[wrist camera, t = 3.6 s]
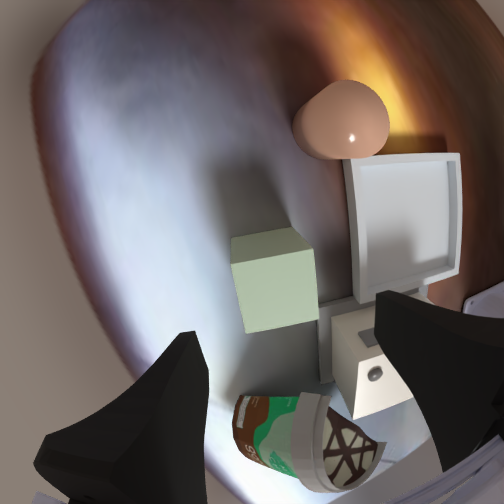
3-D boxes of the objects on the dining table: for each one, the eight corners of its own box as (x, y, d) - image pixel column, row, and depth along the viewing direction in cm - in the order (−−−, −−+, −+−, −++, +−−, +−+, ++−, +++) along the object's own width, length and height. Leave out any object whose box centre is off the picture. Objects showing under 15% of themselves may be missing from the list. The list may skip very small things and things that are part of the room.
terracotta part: (345, 99, 16) (381, 81, 11) (354, 156, 17) (394, 156, 12) (287, 102, 15) (307, 80, 11) (297, 163, 17) (323, 162, 12)
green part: (291, 226, 18) (313, 248, 13) (299, 282, 19) (319, 319, 14) (230, 237, 18) (230, 264, 13) (242, 293, 19) (245, 333, 14)
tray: (448, 152, 17) (459, 153, 15) (448, 268, 20) (458, 273, 19) (341, 157, 17) (350, 157, 15) (352, 295, 20) (360, 304, 18)
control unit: (424, 275, 20) (471, 308, 14) (414, 349, 22) (447, 388, 16) (315, 304, 20) (344, 356, 14) (319, 380, 22) (339, 432, 16)
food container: (193, 445, 18) (288, 483, 11) (228, 386, 22) (326, 392, 15) (283, 484, 21) (367, 502, 14) (305, 437, 25) (388, 443, 18)
